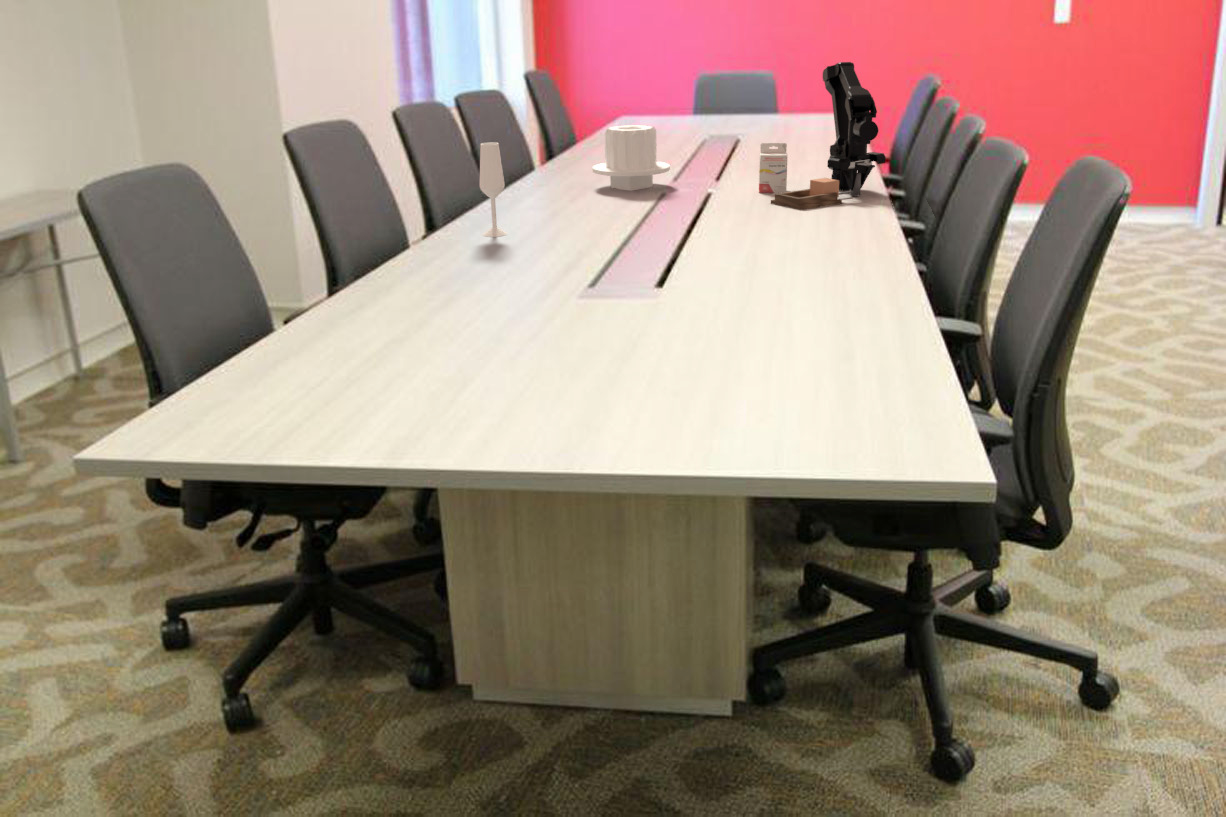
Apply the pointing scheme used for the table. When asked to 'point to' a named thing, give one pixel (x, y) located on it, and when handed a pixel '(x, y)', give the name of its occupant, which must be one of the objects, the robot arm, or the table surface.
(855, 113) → the robot arm
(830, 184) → the tethered block
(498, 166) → the champagne flute
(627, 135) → the flanged gear
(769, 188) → the ink cartridge box
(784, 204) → the wooden tray
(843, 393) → the table surface
